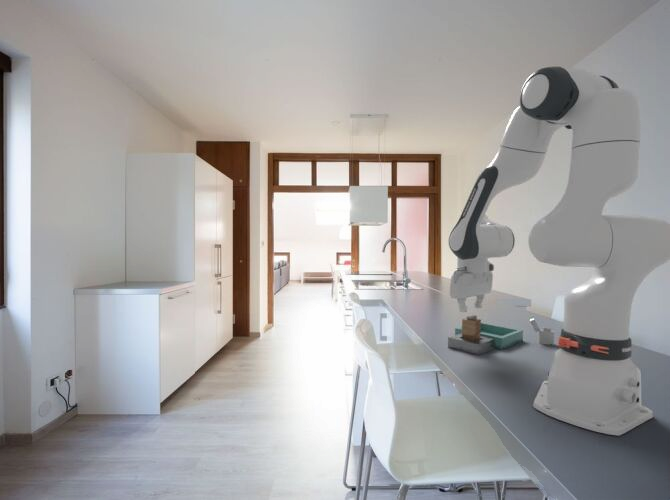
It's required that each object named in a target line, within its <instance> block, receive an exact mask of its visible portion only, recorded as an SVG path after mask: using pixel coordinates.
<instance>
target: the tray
mask: <svg viewBox="0 0 670 500" xmlns="http://www.w3.org/2000/svg"><path fill="white" fill-rule="evenodd" d="M461 333H462V326H458V327H455V328H454V335H457V334H461ZM480 336H483V337H488V338H492V339H494V349H499V350H504V349H506V348H509V347H511V346H513V345H516V344H518V343H521V342H522V341H523V340H524V330H523V329H518V328H512V327H506V326H501V325H497V324H492V323H491V324H490V323H487V322H486V323H485V322H482V321H481V333H480Z"/></svg>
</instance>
